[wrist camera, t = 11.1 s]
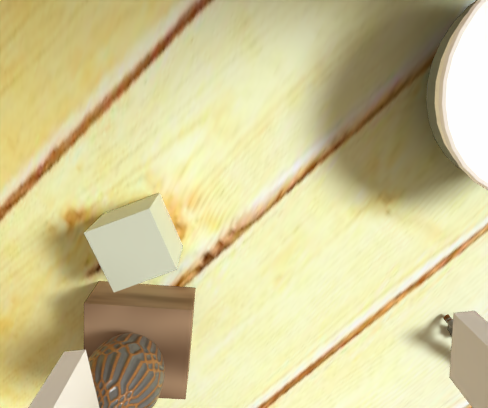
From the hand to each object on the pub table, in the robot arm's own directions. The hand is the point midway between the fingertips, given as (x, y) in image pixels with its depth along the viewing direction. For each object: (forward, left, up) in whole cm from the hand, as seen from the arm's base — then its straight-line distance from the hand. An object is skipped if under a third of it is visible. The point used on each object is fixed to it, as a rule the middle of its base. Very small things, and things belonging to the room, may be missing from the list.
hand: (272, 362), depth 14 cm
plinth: (+14, -11, -27) cm, 32 cm away
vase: (+14, -11, -22) cm, 28 cm away
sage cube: (+3, -10, -26) cm, 28 cm away
